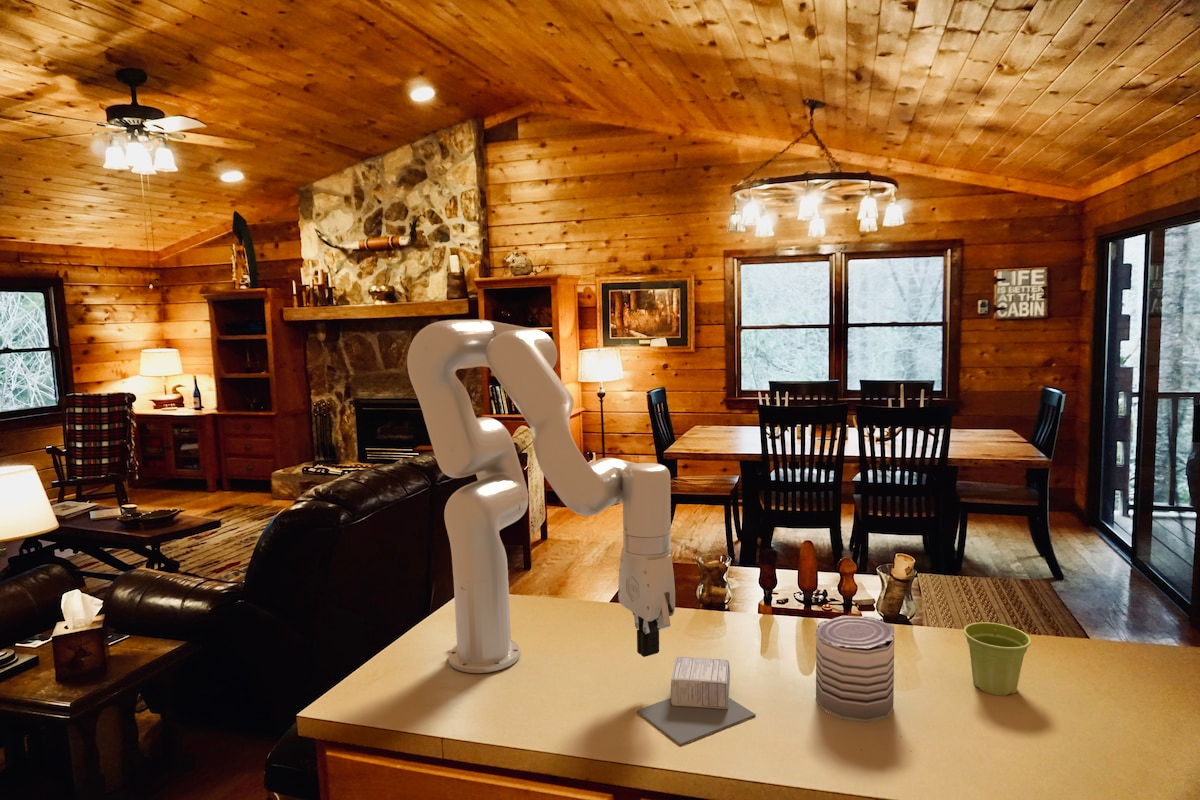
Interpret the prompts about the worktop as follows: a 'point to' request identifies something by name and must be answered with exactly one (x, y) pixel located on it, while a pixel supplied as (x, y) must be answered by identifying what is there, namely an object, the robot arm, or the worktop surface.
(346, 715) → the worktop surface
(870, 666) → the can
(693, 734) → the mat
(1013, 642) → the plant pot
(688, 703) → the medicine box
